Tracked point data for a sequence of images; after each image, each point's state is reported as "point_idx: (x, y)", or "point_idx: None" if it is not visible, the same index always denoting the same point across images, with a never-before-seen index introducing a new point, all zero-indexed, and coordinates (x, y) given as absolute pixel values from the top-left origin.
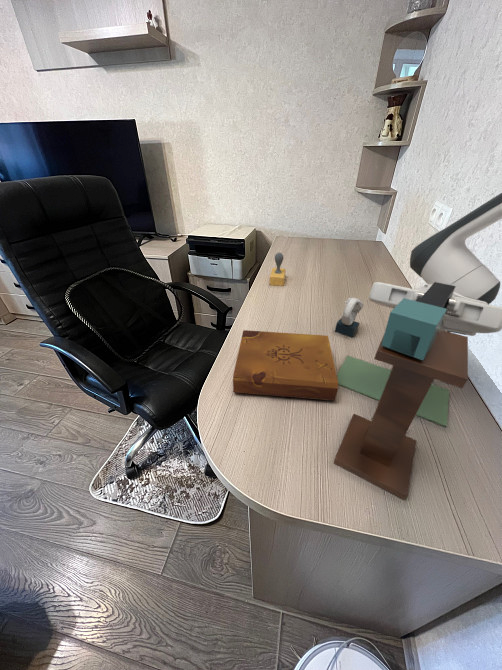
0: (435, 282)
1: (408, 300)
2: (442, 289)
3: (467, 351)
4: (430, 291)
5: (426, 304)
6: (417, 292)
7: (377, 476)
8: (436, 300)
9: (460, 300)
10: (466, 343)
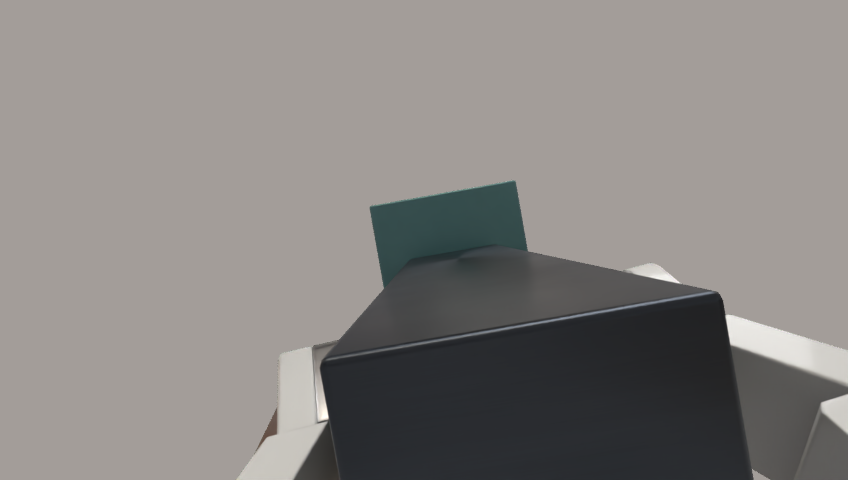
0: (682, 291)
1: (493, 184)
2: (466, 288)
3: (276, 410)
4: (536, 264)
5: (433, 195)
6: (628, 269)
7: None
8: (442, 267)
9: (281, 357)
10: (270, 429)
